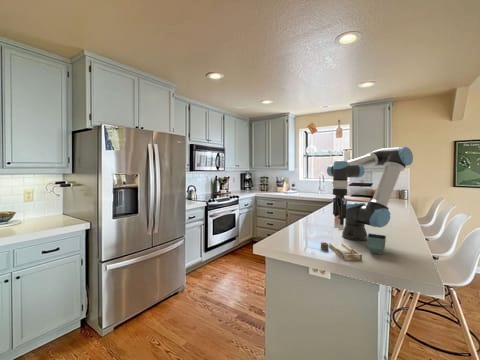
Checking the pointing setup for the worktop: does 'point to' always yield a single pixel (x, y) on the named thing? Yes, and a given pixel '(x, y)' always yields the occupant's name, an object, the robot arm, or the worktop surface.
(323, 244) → the wooden square sleeve
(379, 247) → the flower pot
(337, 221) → the ball
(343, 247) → the runway
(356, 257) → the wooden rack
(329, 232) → the worktop surface
